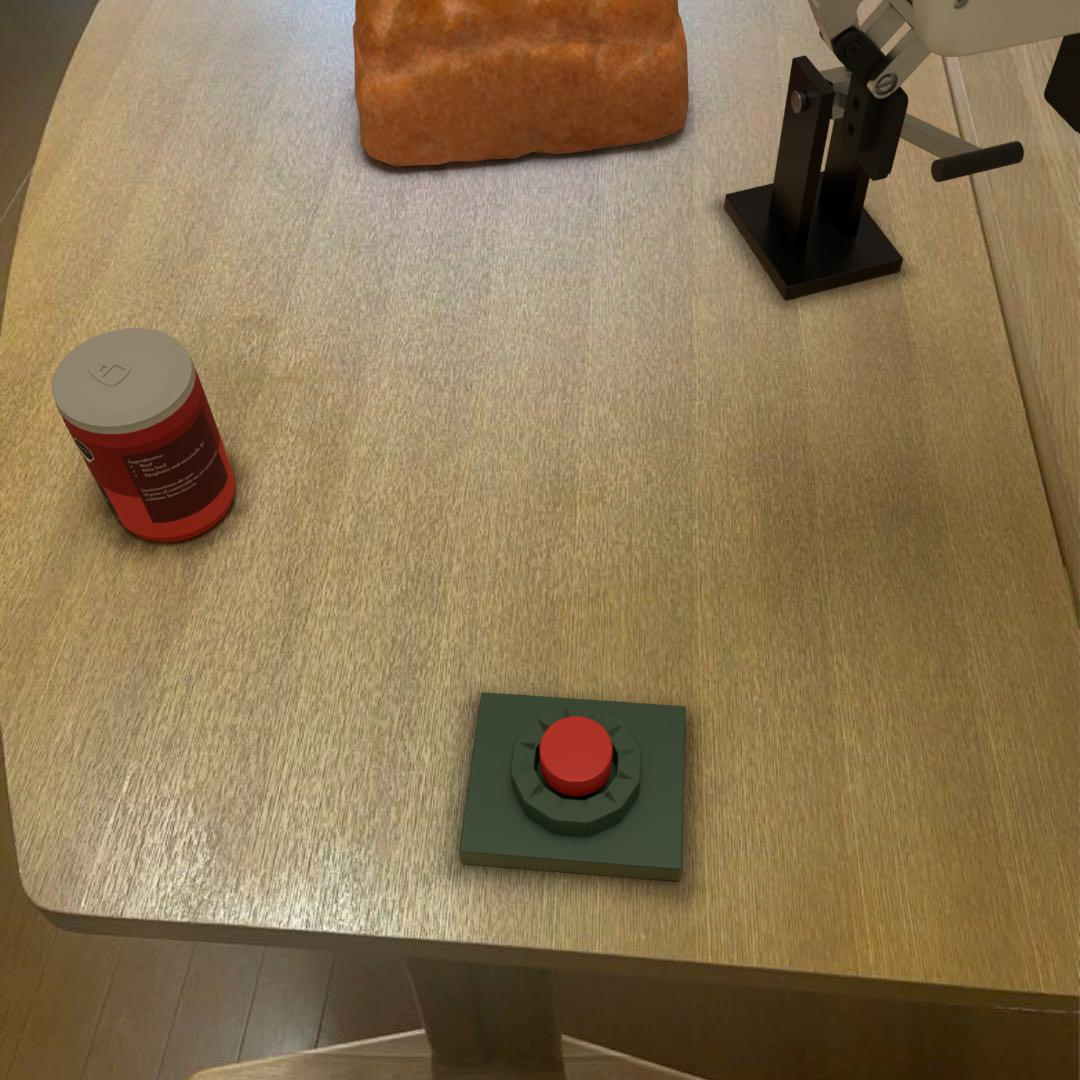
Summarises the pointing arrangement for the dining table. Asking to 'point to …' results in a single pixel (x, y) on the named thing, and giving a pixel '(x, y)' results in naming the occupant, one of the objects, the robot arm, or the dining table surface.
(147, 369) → the canned food
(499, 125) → the bread
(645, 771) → the button box
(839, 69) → the lever
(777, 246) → the bracket
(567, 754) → the button
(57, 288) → the dining table surface
